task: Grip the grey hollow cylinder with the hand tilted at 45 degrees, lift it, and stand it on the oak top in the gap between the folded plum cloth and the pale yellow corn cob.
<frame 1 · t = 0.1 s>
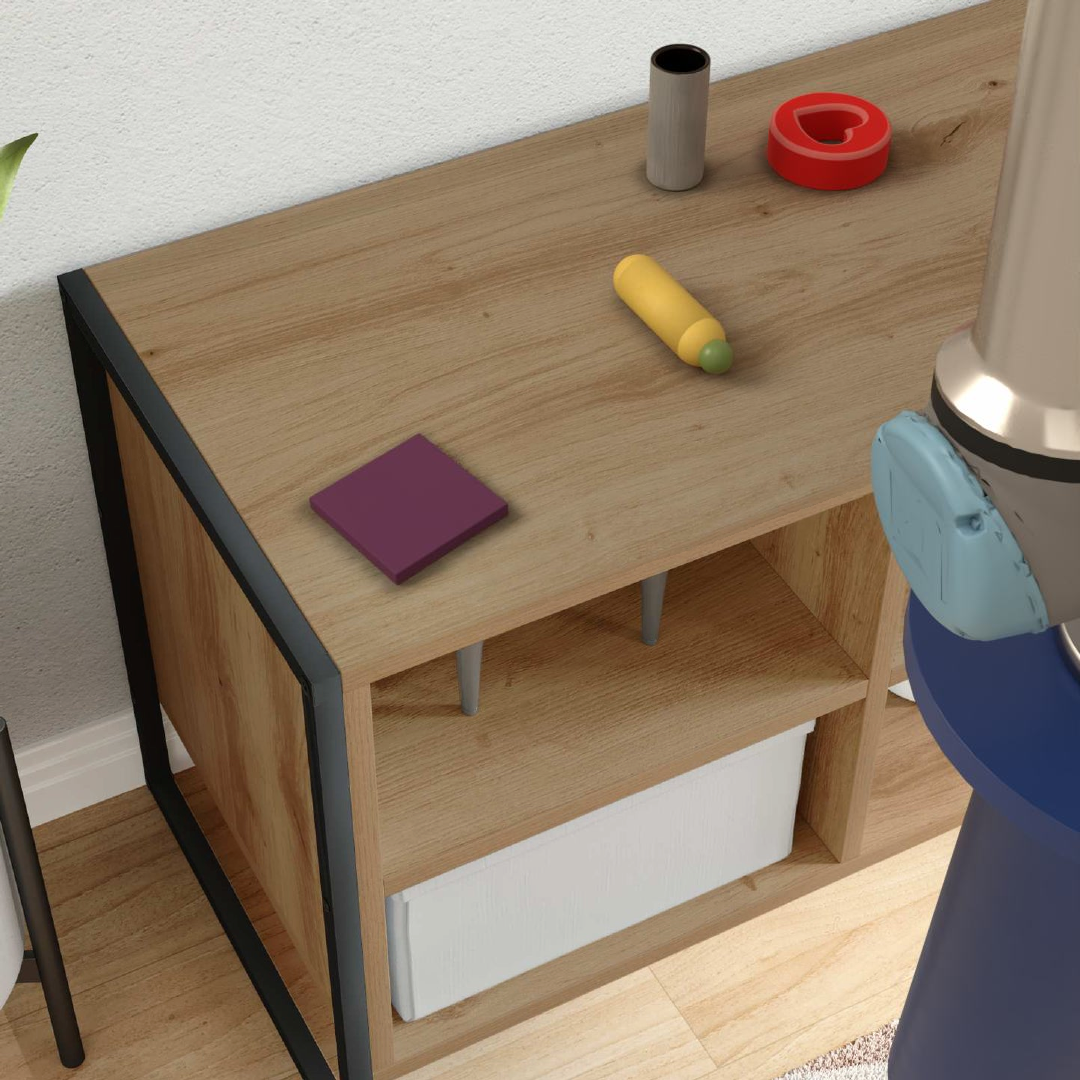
decorative ornament: (826, 158, 127), on the sideboard
grey hollow cylinder: (674, 177, 126), on the sideboard
corn: (667, 329, 112), on the sideboard
cloth: (409, 511, 100), on the sideboard
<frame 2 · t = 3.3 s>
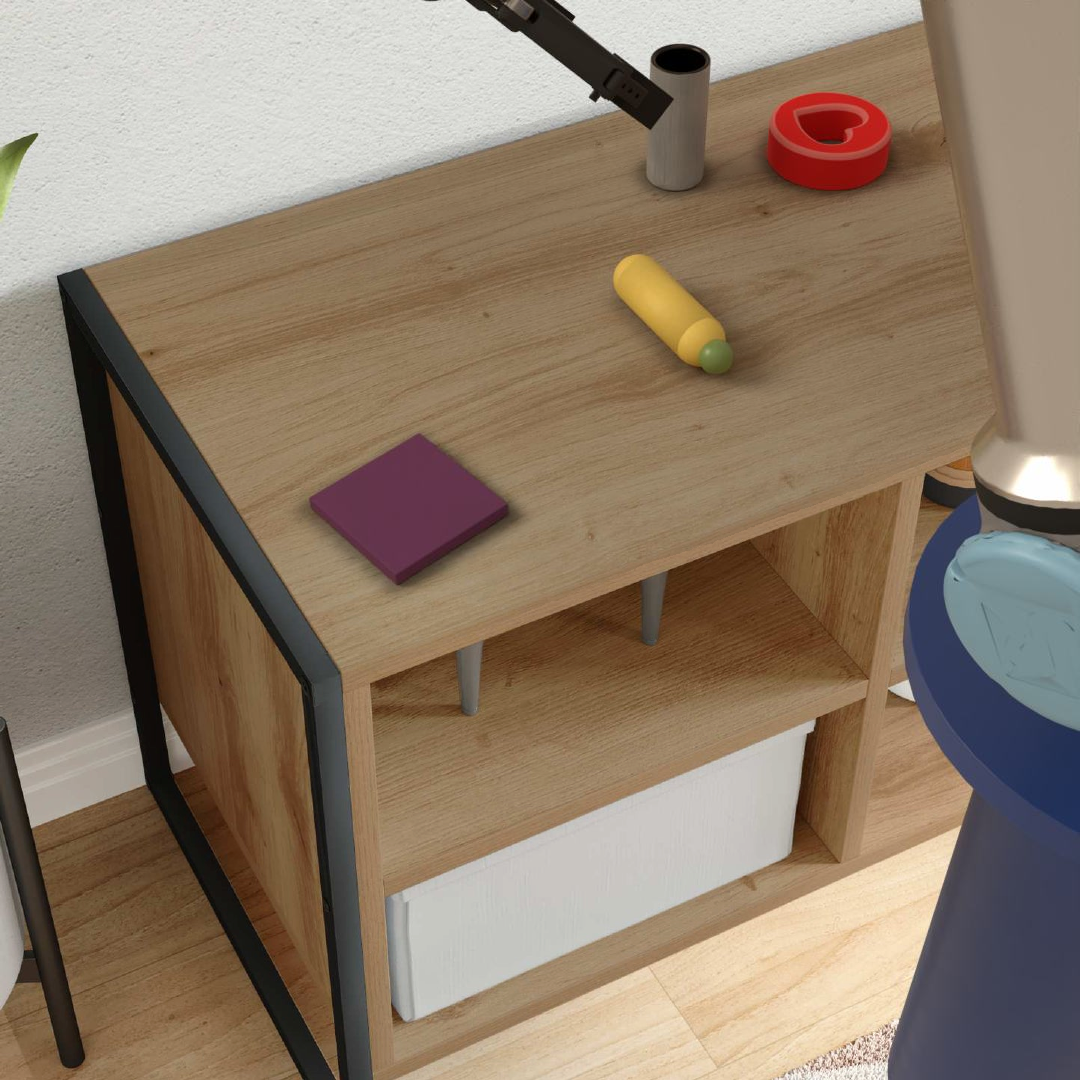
hand: (609, 69, 116), 11 cm above the sideboard, tool tilted 45°, fingers open, 13 cm apart
nothing on the sideboard moved.
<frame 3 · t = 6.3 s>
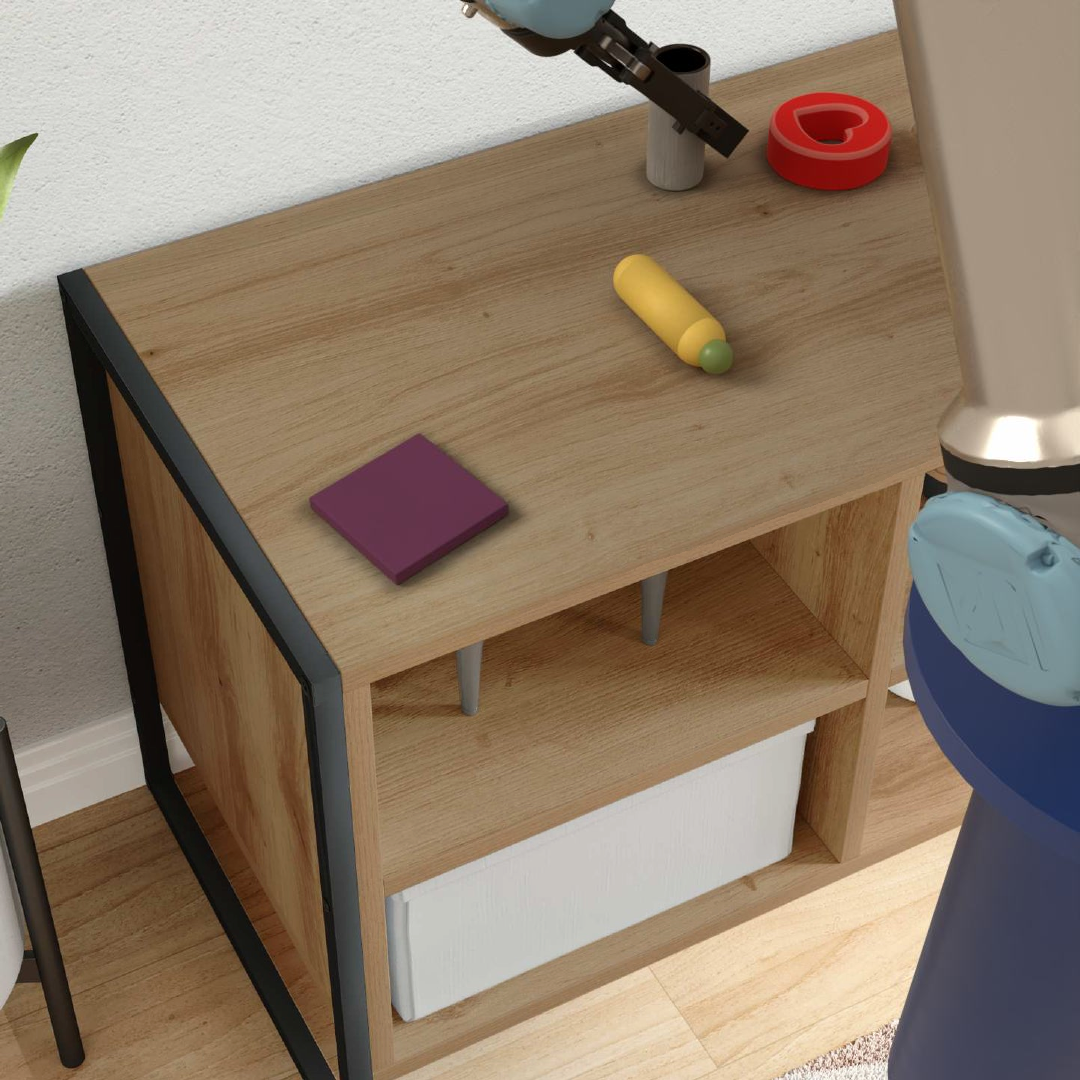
hand: (716, 126, 125), 3 cm above the sideboard, tool tilted 45°, fingers closed on grey hollow cylinder, 5 cm apart
grey hollow cylinder: (674, 177, 126), on the sideboard, touching gripper
everything else where it was.
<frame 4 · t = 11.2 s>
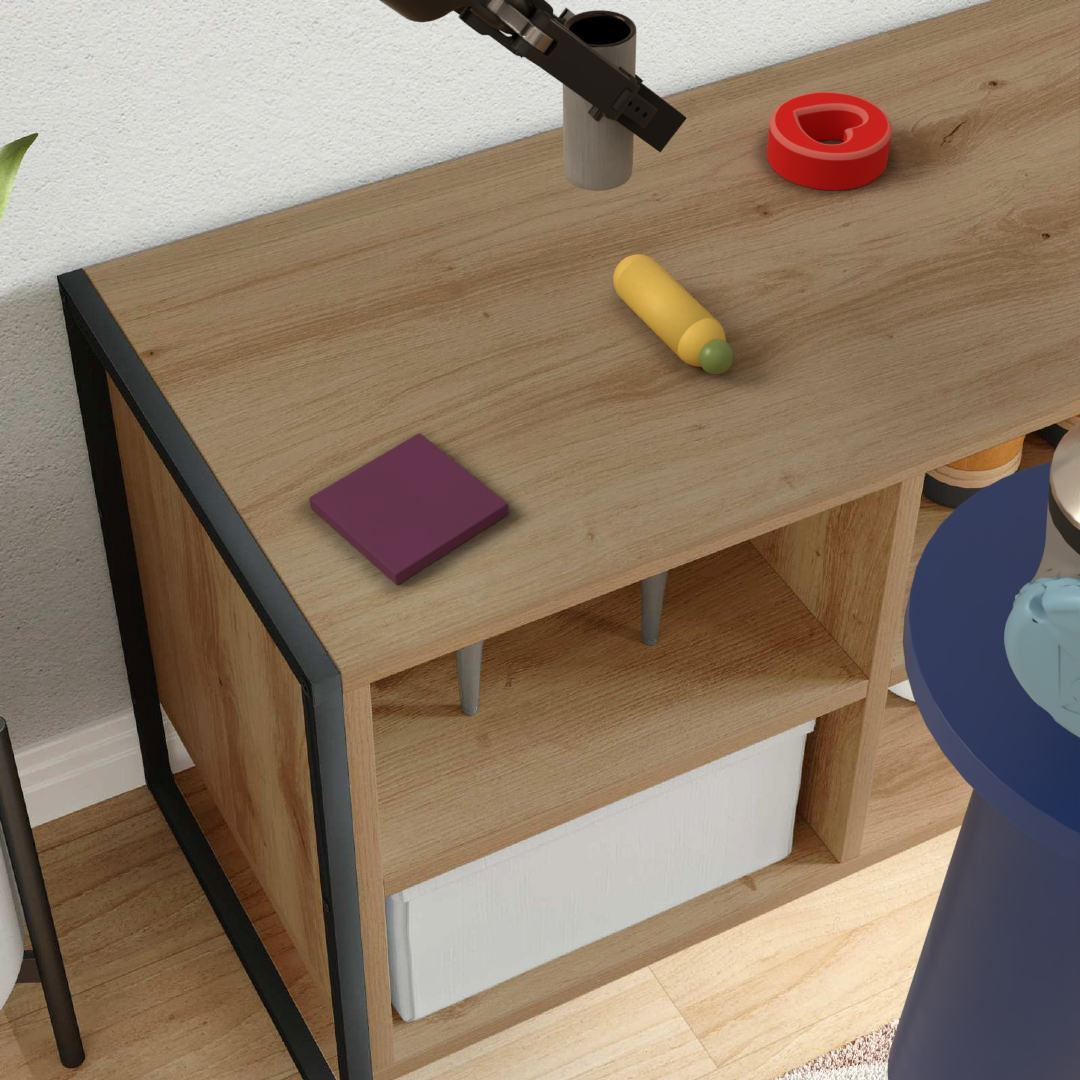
hand: (648, 113, 102), 16 cm above the sideboard, tool tilted 45°, fingers closed on grey hollow cylinder, 5 cm apart
grey hollow cylinder: (598, 175, 104), point 13 cm above the sideboard, touching gripper
everything else where it was.
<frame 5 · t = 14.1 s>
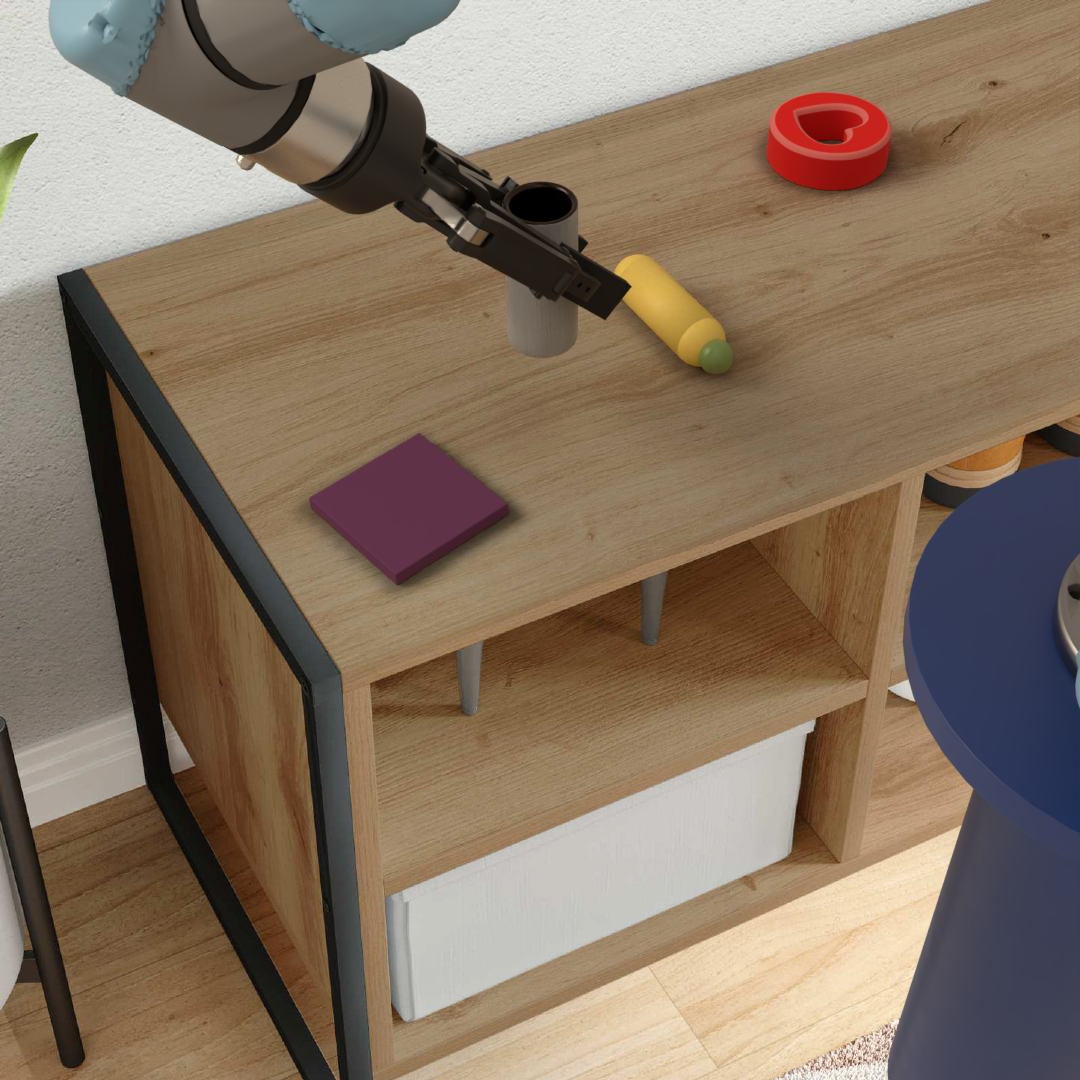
hand: (593, 277, 100), 10 cm above the sideboard, tool tilted 45°, fingers closed on grey hollow cylinder, 5 cm apart
grey hollow cylinder: (542, 339, 102), point 7 cm above the sideboard, touching gripper
everything else where it was.
when the fingers open (3 cm above the sideboard, at t = 16.2 s): grey hollow cylinder stays where it is, on the sideboard.
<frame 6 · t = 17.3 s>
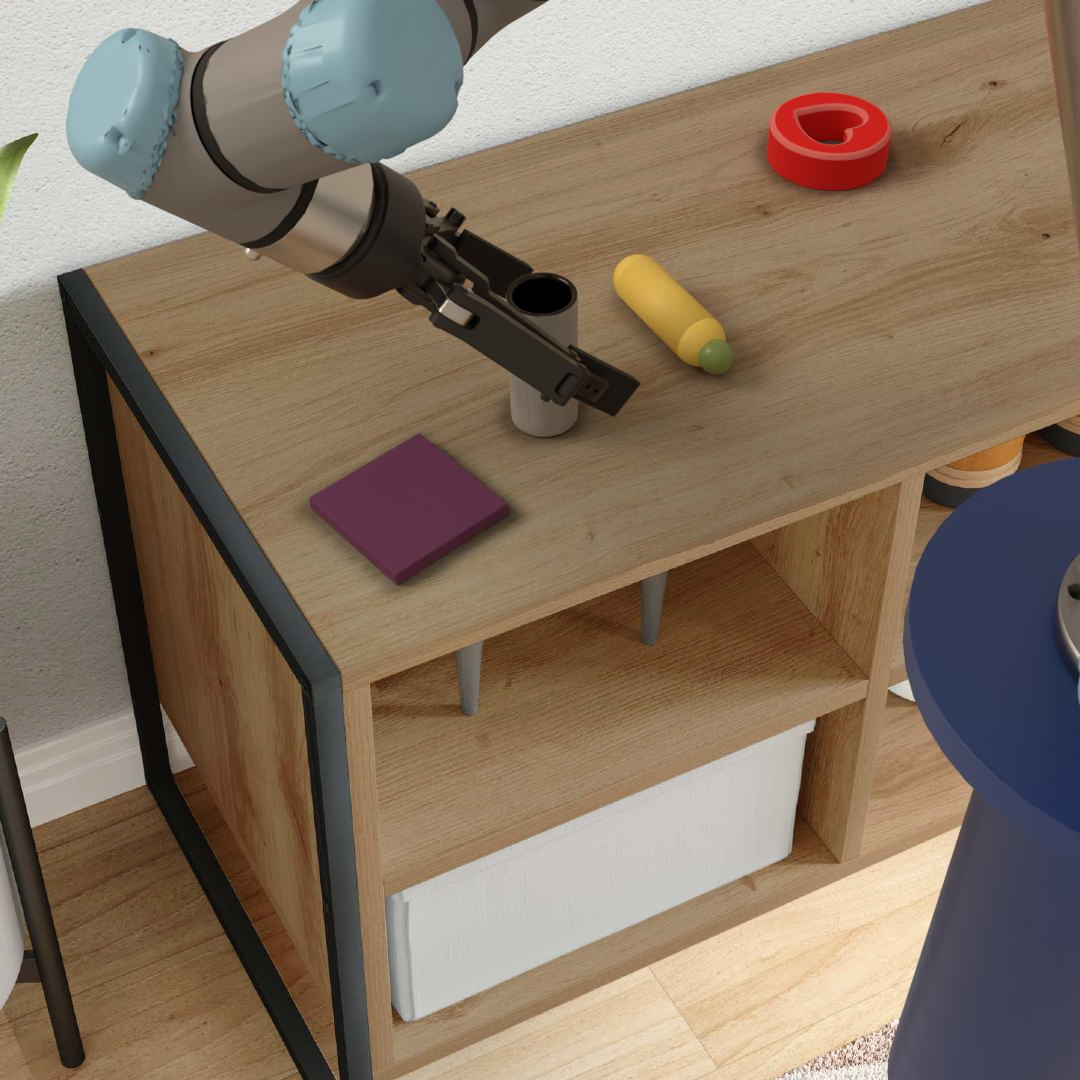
hand: (570, 338, 103), 6 cm above the sideboard, tool tilted 45°, fingers open, 13 cm apart
grey hollow cylinder: (544, 417, 107), on the sideboard
everything else where it was.
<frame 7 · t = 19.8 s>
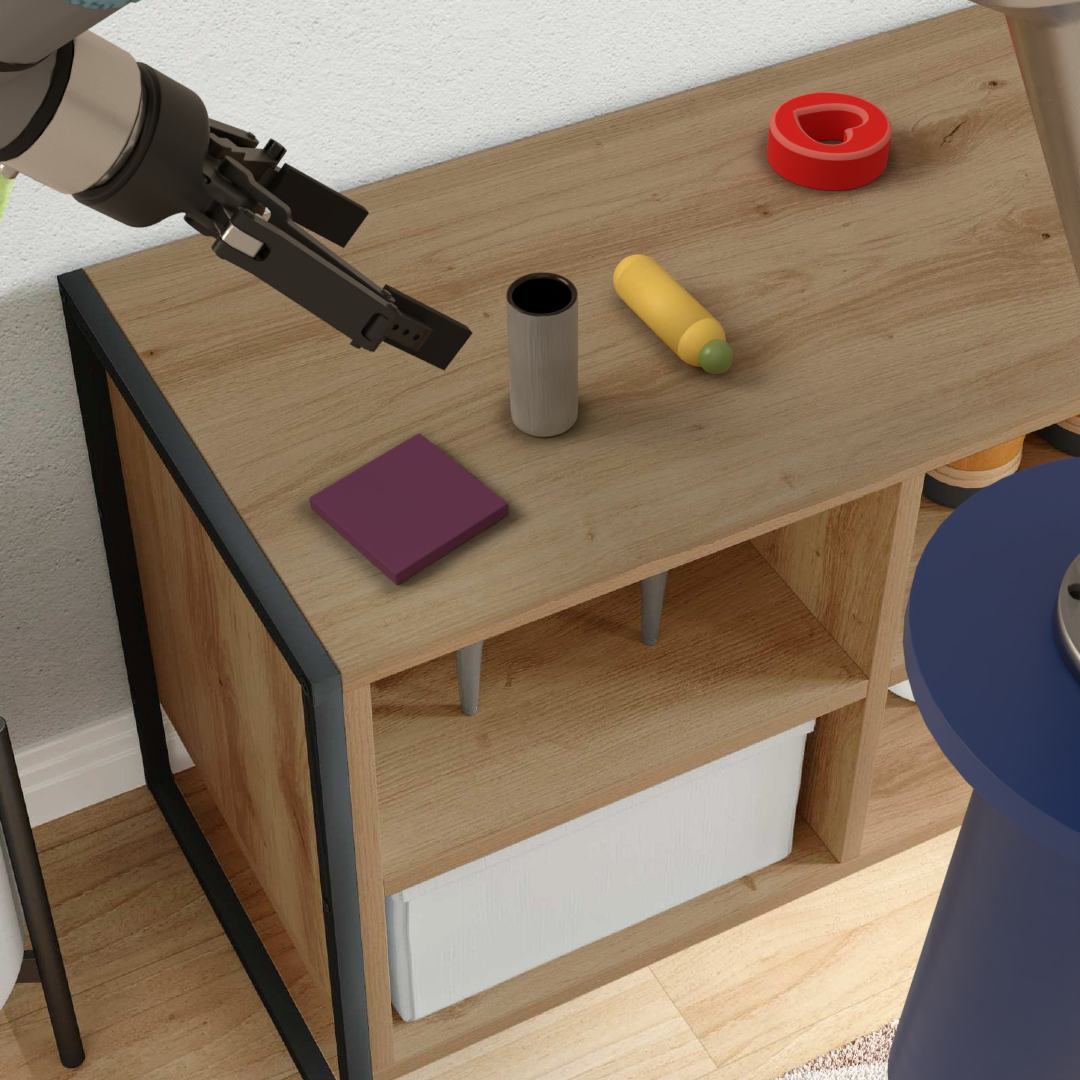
hand: (403, 285, 92), 15 cm above the sideboard, tool tilted 45°, fingers open, 13 cm apart
nothing on the sideboard moved.
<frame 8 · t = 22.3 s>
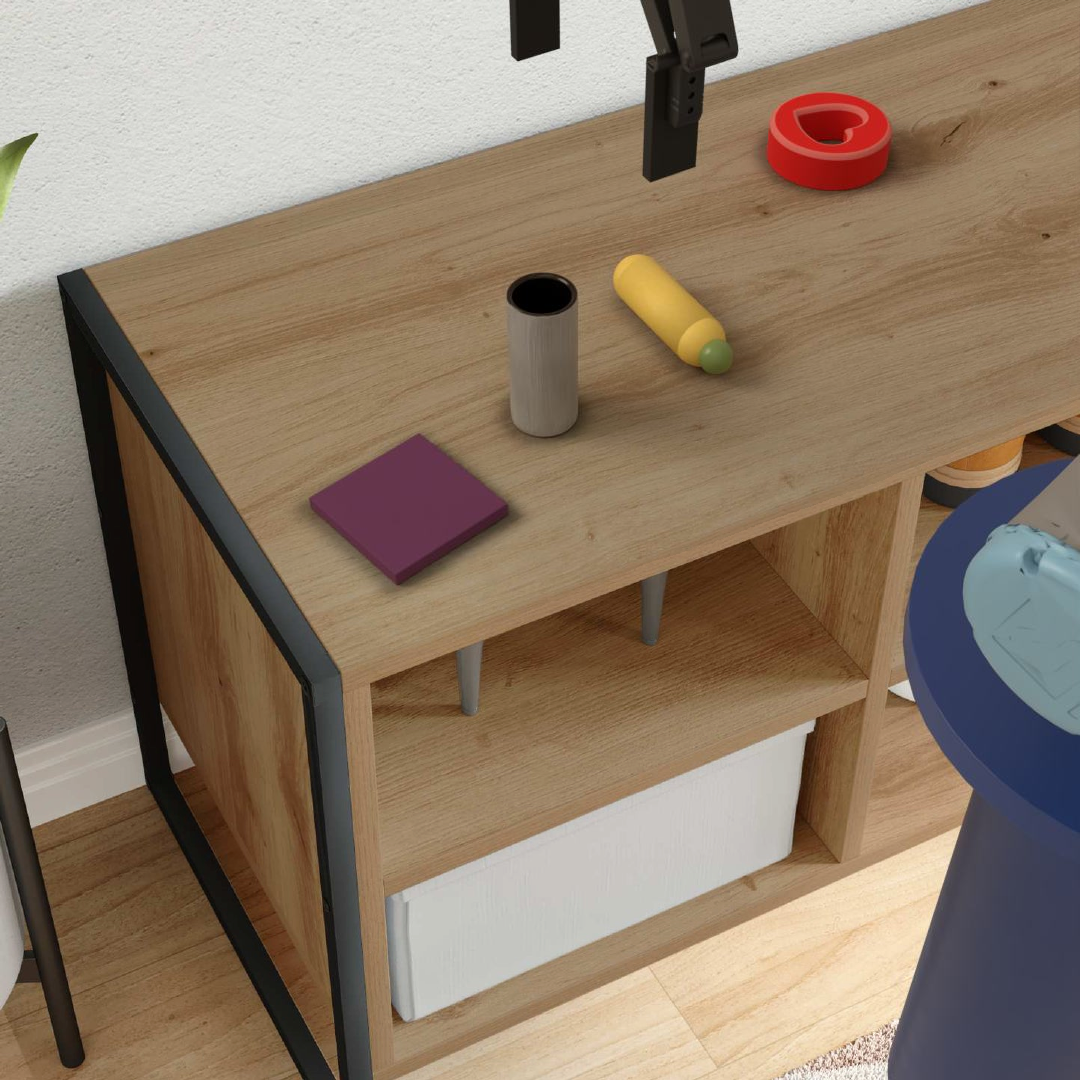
hand: (599, 109, 83), 27 cm above the sideboard, tool pointing down, fingers open, 13 cm apart
nothing on the sideboard moved.
at the end: grey hollow cylinder inside the target area on the sideboard beside the cloth (0.5 cm from its centre), on the sideboard; grey hollow cylinder tilted 0°; the gripper is holding nothing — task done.
